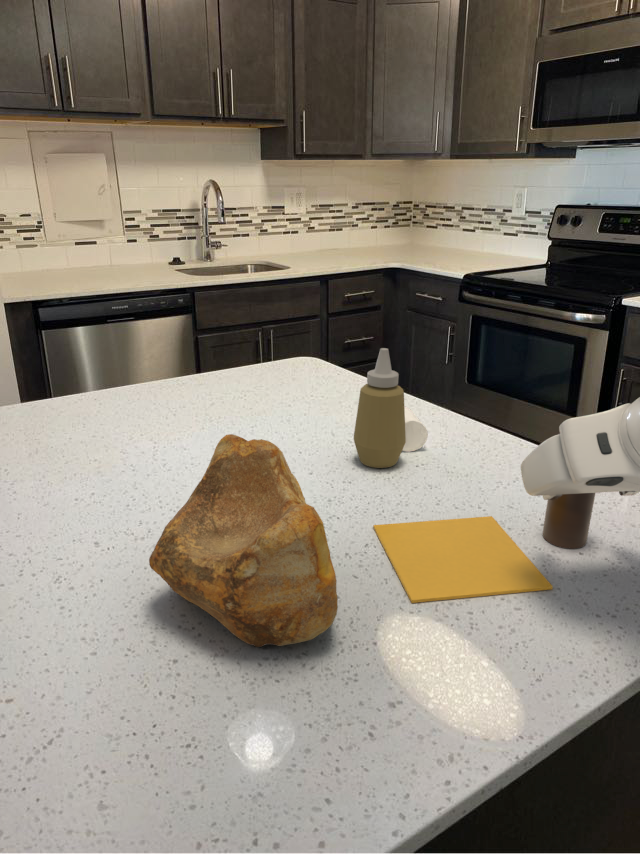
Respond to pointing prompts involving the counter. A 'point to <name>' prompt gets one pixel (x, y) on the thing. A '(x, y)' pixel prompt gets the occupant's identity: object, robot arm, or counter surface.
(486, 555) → the yellow square plate
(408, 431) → the roll
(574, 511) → the pepper mill
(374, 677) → the counter surface
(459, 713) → the counter surface
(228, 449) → the rough brown rock
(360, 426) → the squeeze bottle
